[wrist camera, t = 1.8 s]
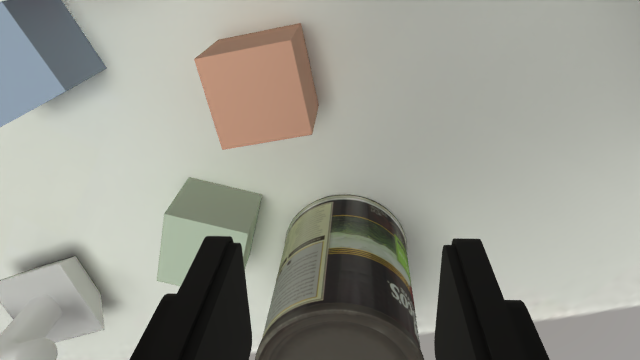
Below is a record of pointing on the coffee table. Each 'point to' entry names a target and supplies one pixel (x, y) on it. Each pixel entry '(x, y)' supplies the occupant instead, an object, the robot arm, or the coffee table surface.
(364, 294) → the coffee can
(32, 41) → the slate block
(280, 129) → the terracotta block
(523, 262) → the coffee table surface
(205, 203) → the sage block
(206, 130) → the coffee table surface
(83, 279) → the figurine
